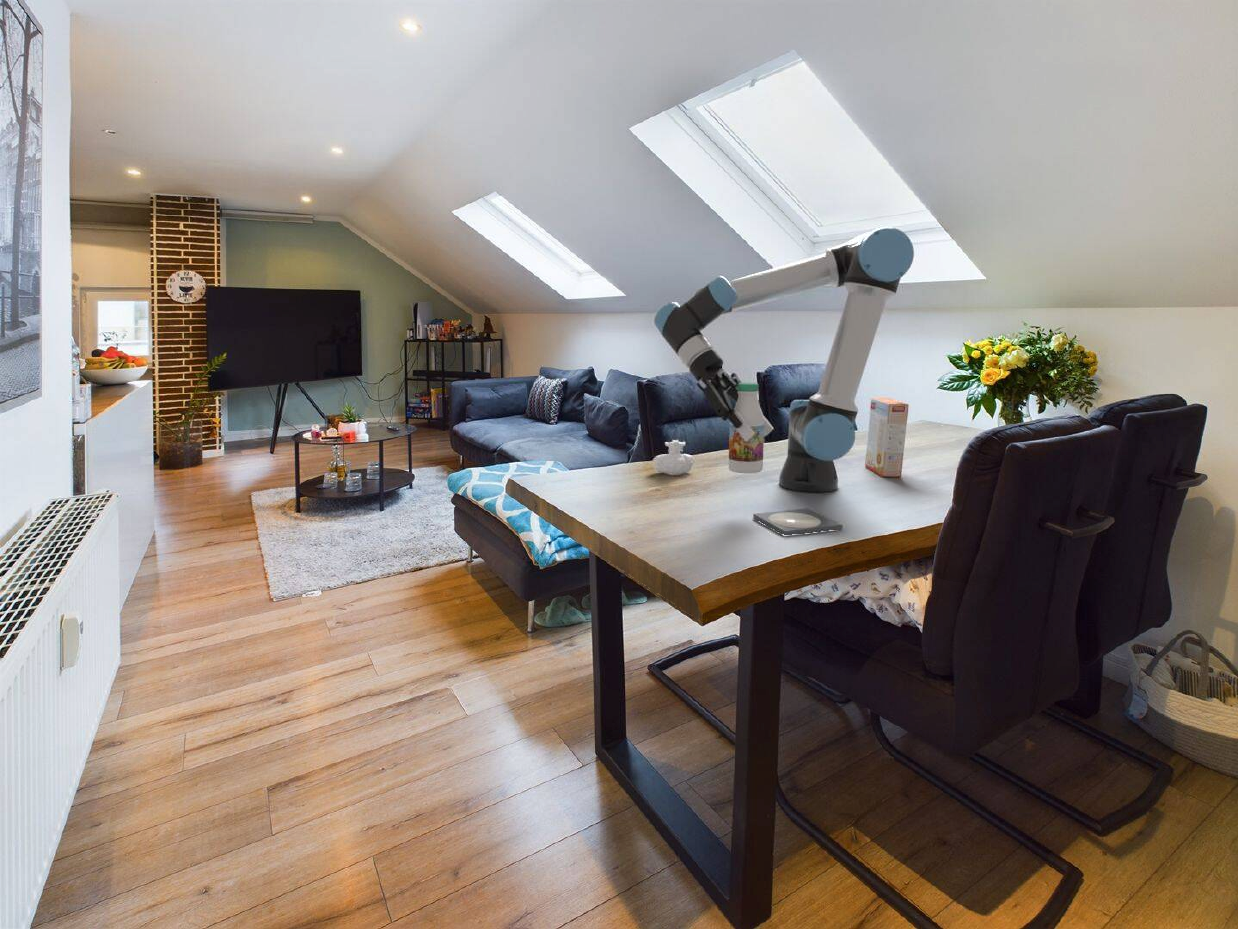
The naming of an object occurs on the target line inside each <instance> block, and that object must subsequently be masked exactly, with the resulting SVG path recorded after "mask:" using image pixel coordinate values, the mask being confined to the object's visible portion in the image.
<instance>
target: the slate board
mask: <svg viewBox="0 0 1238 929" xmlns="http://www.w3.org/2000/svg"><path fill="white" fill-rule="evenodd" d="M752 519H753V520H754V519H755V521H756V522H758V521H760V522H761V523H763V524H765V525H766V526H765V525H764V526H765V527H767V526H768V527H769V529H770V528H772V529H774V530H775V531H774V530H773V531H774V532H776V531H777V532H779V533H780V534H779V533H778V534H779V535H781V534H784V535H792V534H805V533H813V532H821V531H829V530H839V531H843V525H844V524H842V523H840V522H838V521H835V520H834V519H832V518H829V517H827V516H824V515H822V514H820V513H819V512H816V511H814V510H812V509H810V508H809V507H807V508H798V509H797V508H796V509H787V510H778V511H776V510H775V511H768V512H759V513H753V517H752ZM760 522H759V523H760ZM761 523H760V524H761ZM763 524H762V525H763ZM768 527H767V528H768ZM772 529H771V530H772ZM777 532H776V533H777ZM813 534H814V533H813ZM805 535H806V534H805Z"/></svg>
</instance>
